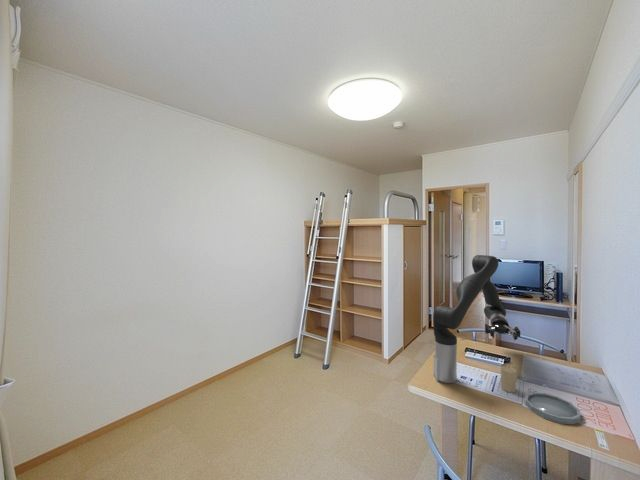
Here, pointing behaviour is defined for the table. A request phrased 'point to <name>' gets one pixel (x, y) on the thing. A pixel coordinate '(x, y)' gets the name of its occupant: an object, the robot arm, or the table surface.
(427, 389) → the table surface
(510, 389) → the candle
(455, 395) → the table surface
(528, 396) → the dish
